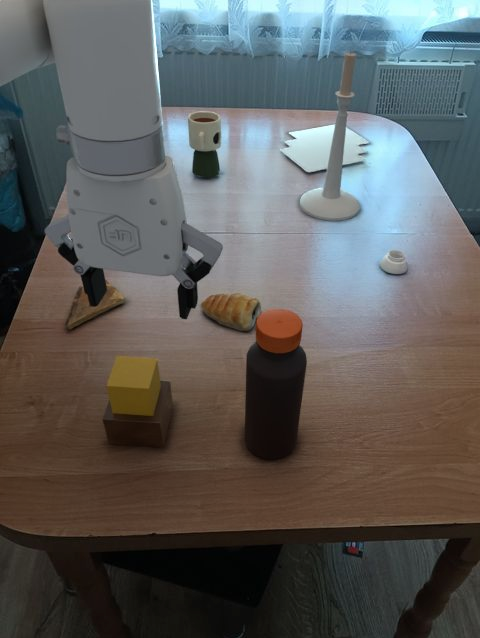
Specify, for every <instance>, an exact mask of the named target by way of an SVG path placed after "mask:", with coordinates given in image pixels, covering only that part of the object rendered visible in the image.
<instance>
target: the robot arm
mask: <svg viewBox="0 0 480 638" xmlns="http://www.w3.org/2000/svg"><path fill="white" fill-rule="evenodd" d="M155 28H156V27H155V17H154V6H153V0H0V87H2V86H4V85H7V84H8V83H10V82H12V81H14V80H16V79H18V78H19V77H21V76H23V75H26V74H27V73H29V72H31V71H34V70H37V69H41V68H43V67H47V66H49V65H52V64H55V68H56V72H57V79H58V82H59V83H58V84H59V87H60V92H61V97H62V101H63V106H64V111H65V117H66V121H67V124H65V125H61V124H60V125H57V127H56V129H55V137H56V139H57V141H58V143H64V144H66V145H69V147H70V150H71V155H72V156H71V158H69V159H68V160H67V162H66V171H65V173H66V175H65V176H66V178H65V179H66V181H65V182H66V183H65V184H66V201H67V203H66V204H67V213H68V215H65V216H62V217H60V218H58V219H56V220H53V221H51V222H50V223H49V224H48V225H47V226H46V227H45V228H44V234H45V235H46V236H47V238H48V239H49V240H50V242H51V243H52V244H53V245H54V247H56V248H57V252H58V254H59V255H60V256H61V257H62V258H63V259H64V260H66V262H68V263H69V264H70V265H72V266H73V267H72V269H73V271H74V273H75V274H77V275H80V278H81V283H82V286H83V288H84V292H85V294H87V296H88V300H89V304H90V306H92V307H96V306H98V305H99V303H100V301H101V300H102V298H103V297H104V295H105V293H106V292H107V286H106V281H105V279H106V277H105V270H109V271H116V272H124V273H131V274H139V275H147V276H154V277H155V276H156V277H157V276H158V277H169V276H173V277H174V278H175V279H176V280H177V281H178V283H179V284H178V287H177V303H178V304H177V305H178V315H179V316H178V317H179V318H181V319H182V320H188V318H189V316H190V313H191V310H192V309H196V308H197V305H198V302H199V293H198V291H199V290H198V282H200V281H201V280H203V279H204V278H206V277H207V276H208V275H209V274H210V272H211V271H212V269H213V268H214V266H215V264H216V263H217V262H218V260H219V258H220V257H221V254H222V251H223V249H224V245H223V244H222V243H221V242H219V241H218V240H216V239H215V238H213V237H211V236H210V235H208V234H206V233H204V232H202V231H201V230H199V229H197V228H195V227H194V226H192V225H190V224H188V222H187V214H186V208H185V202H184V197H183V192H182V187H181V184H180V180H179V176H178V173H177V170H176V166H175V162H174V160H173V158H172V157H171V156H168V155H166V144H165V133H164V121H163V110H162V99H161V87H160V86H161V85H160V75H159V65H158V53H157V52H158V51H157V39H156V30H155ZM69 233H70V234H71V238H70V235H69ZM189 247H191V248H193V249H194V250H196V251H199V253H201V254H202V255H203V256H202V257H200V258H199V259H198V260H197V261H196V260H195V259H194V258H193V257H192V256H191V255H190V254H189V253H188V252H187V251H188V248H189Z"/></svg>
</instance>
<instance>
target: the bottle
mask: <svg viewBox="0 0 480 638" xmlns="http://www.w3.org/2000/svg"><path fill="white" fill-rule="evenodd" d="M303 326H304V325H303V321H302V318H301V317H300V316H299V315H298V314H297V313H295V312H293V311H291V310H289V309H286V308H281V307H280V308H277V307H276V308H271V309H270V308H269V309H267V310H264V311H263V312H261V313H260V315H259V316H258V317H257V318H256V321H255V342H254V343H252V345H251V346H250V347H249V348H248V350H247V352H246V357H245V358H246V360H245V361H246V362H245V401H244V403H245V404H244V405H245V406H244V442H245V445H246V447H247V449H248V450H249V451H250V452H251V453H252V454H253V455H255V456H257V457H258V458H262V459H266V460H278V459H281V458H284V457H286V456H287V455H289V454H291V452H292V451H293V449H294V448H296V443H297V440H298V432H299V425H300V419H301V417H300V416H301V410H302V403H303V396H304V387H305V381H306V371H307V366H308V365H307V364H308V360H307V359H308V358H307V353H306V351H305V350H304V348H303V346H301V342H302V333H303Z"/></svg>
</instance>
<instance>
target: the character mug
mask: <svg viewBox="0 0 480 638" xmlns="http://www.w3.org/2000/svg"><path fill="white" fill-rule="evenodd" d="M187 129H188V144H189V145H188V146H189V147H190V148H191V149H192V150H194V151H193V156H192V169H191V173H192V174H193V176H194V175H195V176H197V177H201V178H205V179H206V178H207V179H212V178H216V177H217V176H219V175H220V172H221V168H220V162H219V154H218V151H217V150H218V149H220V148H221V146H222V117H221V115H220V114H218V113H216V112H214V111H209V110H200V111H193V112H191V113H189V114H188V115H187Z"/></svg>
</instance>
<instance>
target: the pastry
mask: <svg viewBox="0 0 480 638" xmlns="http://www.w3.org/2000/svg"><path fill="white" fill-rule="evenodd" d="M200 305H201V306H200V307H201V308H202V310H203V313H204V314H205V315H206V316H207V317H210V319H212V320H214V321H215V322H217V323H218V324H219V325H222V326H225V327H227V328H230V329H234V330H236V331H240V332H249V331H251V329H252V328H253V327H254V326H255V324H256V320H257V318H258V317H259V315H261V314H262V305H261V302H260V300H259V298H256V297H254V298H253V297H252V296H249V295H245V294H241V293H239V292H235V293H231V294H230V293H228V294H227V293H219V294H211V295H209V296H207V297H206V299H204V300H203V301H201V304H200Z"/></svg>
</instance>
